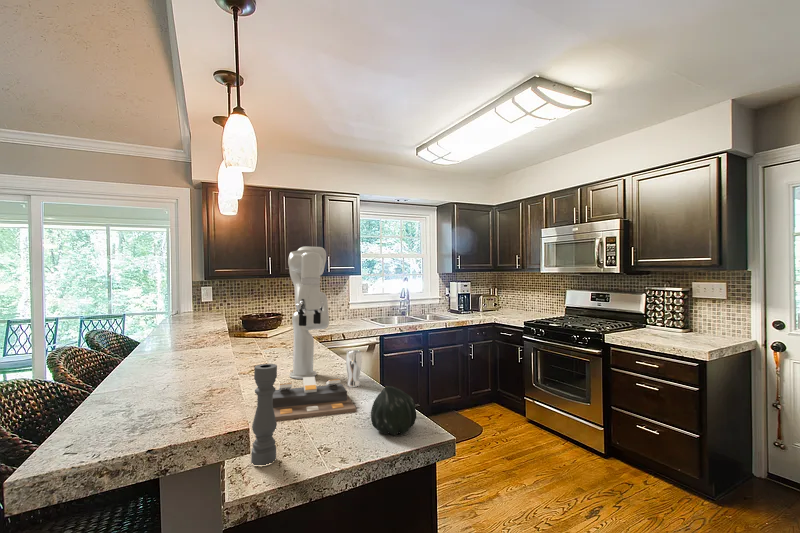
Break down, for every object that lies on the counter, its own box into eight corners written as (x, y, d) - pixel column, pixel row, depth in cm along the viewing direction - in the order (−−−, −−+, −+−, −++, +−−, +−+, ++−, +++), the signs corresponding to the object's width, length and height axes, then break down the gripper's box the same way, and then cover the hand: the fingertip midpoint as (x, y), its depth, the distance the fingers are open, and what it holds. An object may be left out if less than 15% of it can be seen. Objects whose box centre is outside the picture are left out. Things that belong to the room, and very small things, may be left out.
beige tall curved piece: (362, 383, 168) (363, 350, 168) (359, 387, 161) (360, 353, 161) (347, 382, 168) (348, 349, 168) (344, 387, 161) (344, 352, 162)
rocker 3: (326, 385, 147) (326, 381, 148) (337, 384, 149) (337, 380, 149) (329, 383, 140) (329, 379, 141) (340, 382, 142) (340, 378, 142)
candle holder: (261, 469, 93) (263, 370, 94) (246, 462, 96) (248, 366, 97) (281, 459, 98) (283, 365, 99) (265, 453, 102) (267, 362, 102)
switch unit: (268, 399, 144) (268, 384, 144) (344, 392, 154) (344, 378, 154) (267, 421, 123) (268, 403, 123) (355, 411, 133) (356, 395, 133)
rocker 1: (278, 389, 141) (278, 385, 142) (290, 388, 142) (290, 384, 143) (279, 388, 134) (279, 383, 134) (292, 387, 135) (292, 382, 136)
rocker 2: (303, 380, 144) (303, 376, 144) (314, 379, 146) (314, 375, 146) (304, 392, 137) (304, 389, 137) (316, 391, 139) (316, 388, 138)
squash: (427, 407, 123) (398, 372, 125) (420, 427, 109) (388, 387, 111) (396, 432, 126) (368, 397, 128) (385, 454, 111) (354, 414, 113)
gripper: (315, 283, 161) (314, 322, 159) (289, 282, 145) (288, 326, 143) (330, 283, 158) (329, 323, 157) (305, 282, 142) (304, 327, 141)
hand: (310, 324), depth 150 cm, fingers open, 9 cm apart
